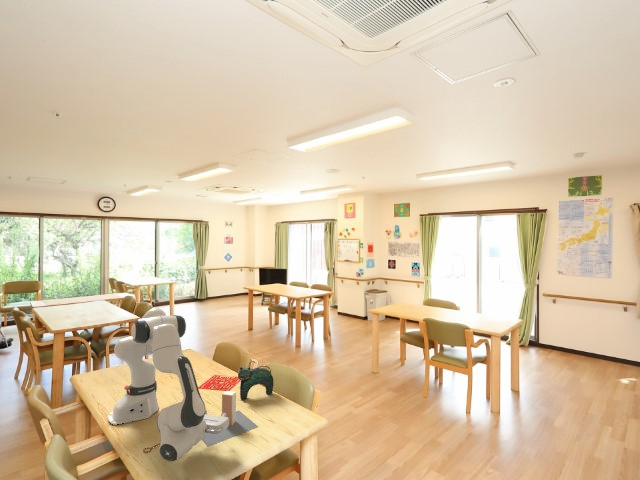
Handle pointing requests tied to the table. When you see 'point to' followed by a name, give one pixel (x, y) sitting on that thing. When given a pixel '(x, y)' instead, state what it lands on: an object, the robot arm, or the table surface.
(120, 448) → the table surface
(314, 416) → the table surface
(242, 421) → the mat
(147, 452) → the key
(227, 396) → the block
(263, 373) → the ceramic cat
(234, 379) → the maze puzzle
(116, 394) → the table surface
